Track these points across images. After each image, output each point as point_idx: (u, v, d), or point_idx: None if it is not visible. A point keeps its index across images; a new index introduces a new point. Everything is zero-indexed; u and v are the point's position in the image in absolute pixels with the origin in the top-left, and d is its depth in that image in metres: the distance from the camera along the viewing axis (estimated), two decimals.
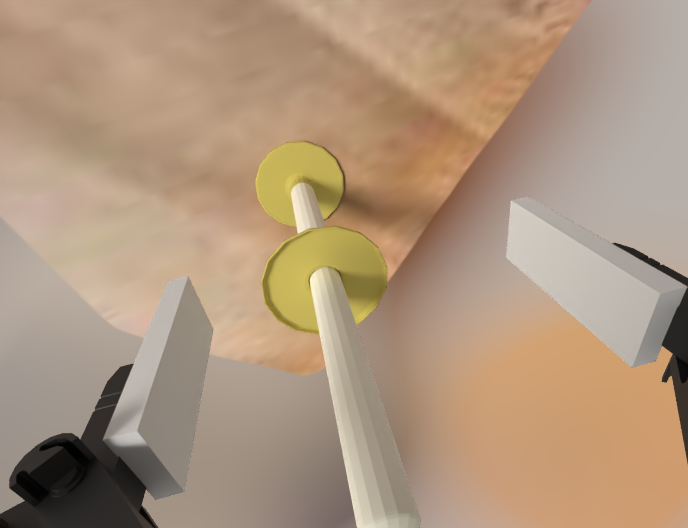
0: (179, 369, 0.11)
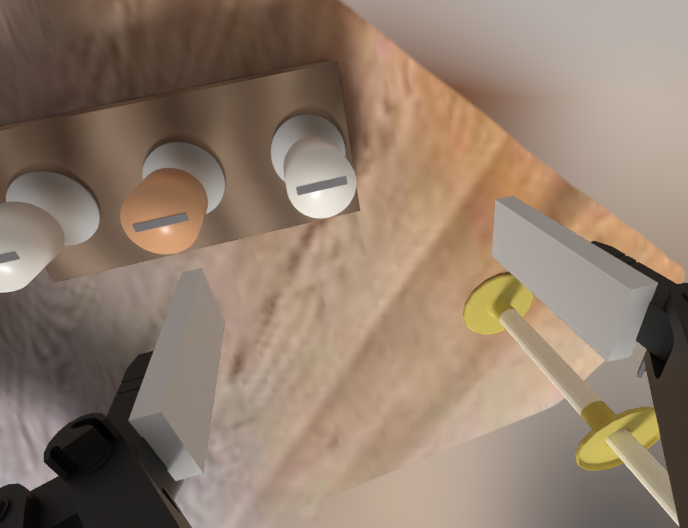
0: (196, 357, 0.11)
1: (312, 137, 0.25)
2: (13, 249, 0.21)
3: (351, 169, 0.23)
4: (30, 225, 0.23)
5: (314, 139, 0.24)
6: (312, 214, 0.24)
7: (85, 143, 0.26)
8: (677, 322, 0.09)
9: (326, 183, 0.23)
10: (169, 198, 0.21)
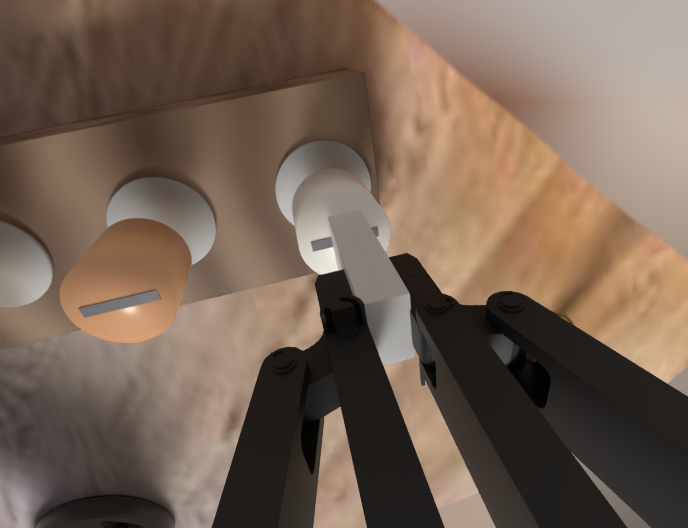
0: None
1: (330, 170, 0.19)
2: None
3: (385, 217, 0.17)
4: None
5: (333, 174, 0.18)
6: None
7: (27, 180, 0.20)
8: (430, 338, 0.09)
9: None
10: (131, 272, 0.15)
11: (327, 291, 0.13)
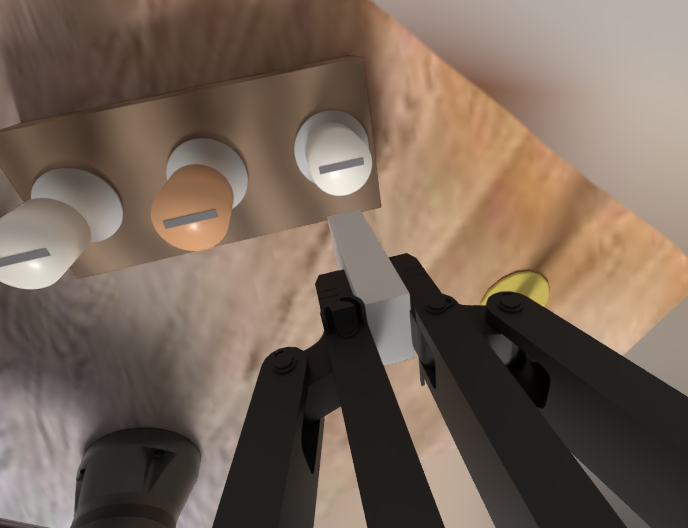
0: None
1: (331, 123, 0.28)
2: (44, 246, 0.21)
3: (367, 151, 0.25)
4: (59, 222, 0.23)
5: (334, 125, 0.27)
6: (332, 192, 0.27)
7: (110, 140, 0.26)
8: (429, 338, 0.09)
9: (345, 163, 0.26)
10: (200, 194, 0.21)
11: (327, 291, 0.13)
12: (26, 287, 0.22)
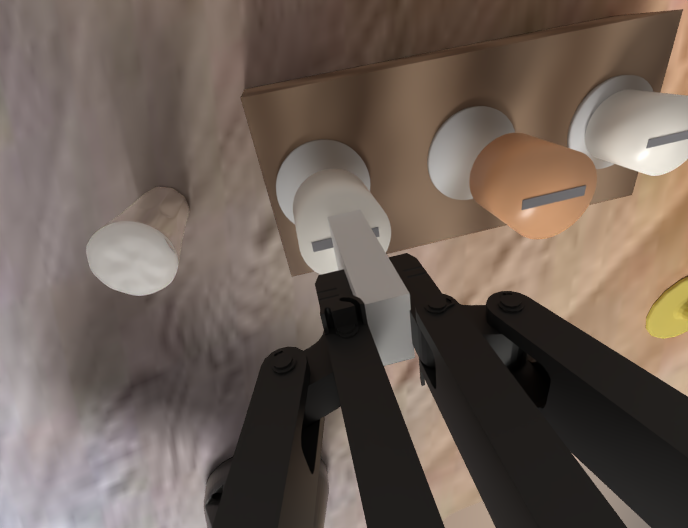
0: None
1: (633, 90, 0.23)
2: (378, 224, 0.17)
3: None
4: None
5: (644, 91, 0.22)
6: (648, 171, 0.22)
7: (381, 106, 0.22)
8: (430, 338, 0.09)
9: (678, 135, 0.21)
10: (578, 165, 0.17)
11: (327, 291, 0.13)
12: None
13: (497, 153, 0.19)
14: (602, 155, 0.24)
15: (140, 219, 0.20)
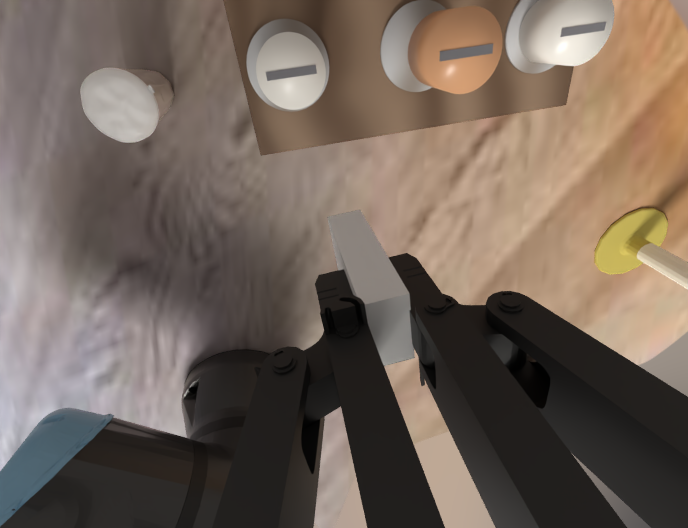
0: None
1: None
2: (315, 62, 0.23)
3: (612, 14, 0.25)
4: None
5: None
6: (563, 60, 0.26)
7: None
8: (430, 338, 0.09)
9: (588, 27, 0.25)
10: (485, 23, 0.20)
11: (327, 291, 0.13)
12: (284, 106, 0.24)
13: (426, 21, 0.22)
14: (531, 53, 0.28)
15: (127, 70, 0.24)
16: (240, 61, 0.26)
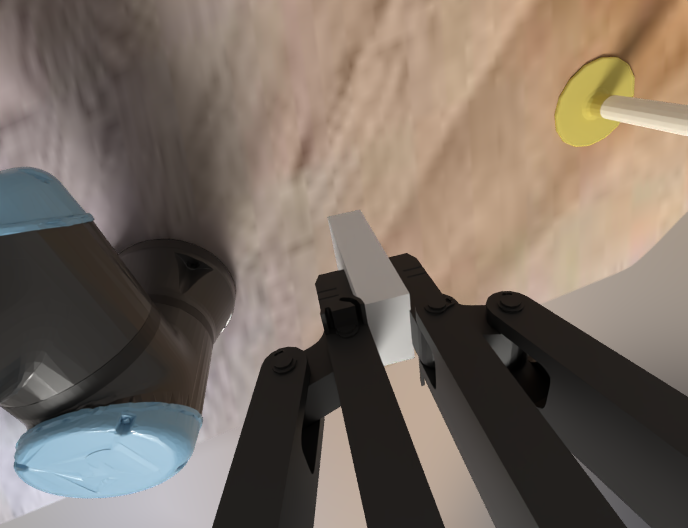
0: None
1: None
2: None
3: None
4: None
5: None
6: None
7: None
8: (430, 338, 0.09)
9: None
10: None
11: (327, 291, 0.13)
12: None
13: None
14: None
15: None
16: None
